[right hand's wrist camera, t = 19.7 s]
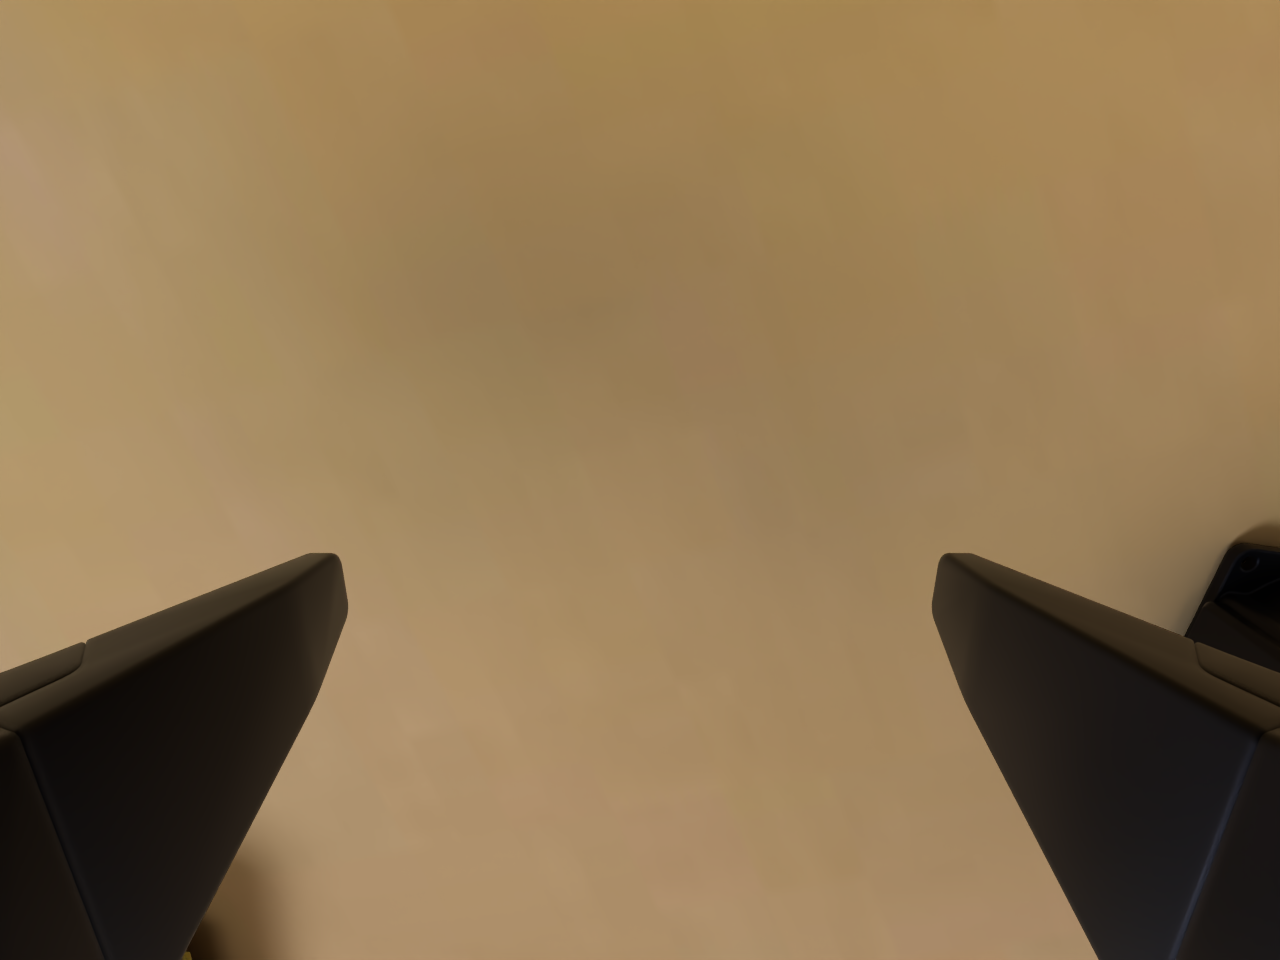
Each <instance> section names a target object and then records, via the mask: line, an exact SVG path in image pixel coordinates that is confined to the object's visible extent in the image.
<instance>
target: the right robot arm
mask: <svg viewBox="0 0 1280 960" xmlns="http://www.w3.org/2000/svg"><path fill="white" fill-rule="evenodd" d="M1247 557H1248V559H1247V560H1246V561H1245V562H1244V563H1242V561H1243V560H1244V559H1245V558H1247ZM347 613H348V599H347V593H346V587H345V581H344V575H343V569H342V564H341V561H340V559H339V557H338V556H337V555H336V554H333V553H309V554H306V555H303V556H301V557H298V558H295V559H293V560H290V561H288V562H285V563H283V564H280V565H278V566H275V567H272V568H270V569H267V570H265V571H262V572H260V573H257V574H255V575H252V576H249V577H247V578H244V579H242V580H239V581H237V582H234V583H232V584H229V585H226V586H224V587H221V588H219V589H216V590H214V591H211V592H209V593H206V594H203V595H201V596H198V597H196V598H193V599H191V600H188V601H186V602H183V603H180V604H178V605H175V606H173V607H170V608H168V609H165V610H163V611H160V612H157V613H155V614H152V615H150V616H147V617H145V618H142V619H140V620H137V621H134V622H132V623H129V624H127V625H124V626H122V627H119V628H117V629H114V630H111V631H109V632H106V633H104V634H101V635H99V636H96V637H94V638H91V639H89V640H87V642H86V644H85V643H83V642H81V643H78V644H75V645H73V646H70V647H68V648H65V649H63V650H60V651H58V652H55V653H52V654H50V655H47V656H44V657H42V658H39V659H36V660H34V661H31V662H29V663H26V664H23V665H21V666H18V667H15V668H13V669H10V670H7V671H5V672H2V673H0V960H181V959H182V957H183V955H184V953H185V951H186V950H187V948H188V946H189V944H190V942H191V940H192V938H193V936H194V934H195V932H196V930H197V928H198V926H199V924H200V923H201V921H202V919H203V917H204V915H205V913H206V911H207V909H208V907H209V905H210V903H211V901H212V899H213V897H214V896H215V894H216V892H217V890H218V888H219V886H220V884H221V882H222V880H223V878H224V876H225V874H226V872H227V870H228V869H229V867H230V865H231V863H232V861H233V859H234V857H235V855H236V853H237V851H238V849H239V847H240V845H241V843H242V842H243V840H244V838H245V836H246V834H247V832H248V830H249V828H250V826H251V824H252V822H253V820H254V818H255V816H256V815H257V813H258V811H259V809H260V807H261V805H262V803H263V801H264V799H265V797H266V795H267V793H268V791H269V789H270V788H271V786H272V784H273V782H274V780H275V778H276V776H277V774H278V772H279V770H280V768H281V766H282V764H283V763H284V761H285V759H286V757H287V755H288V753H289V751H290V749H291V747H292V745H293V743H294V741H295V739H296V737H297V736H298V734H299V732H300V730H301V728H302V726H303V724H304V722H305V720H306V718H307V716H308V714H309V712H310V710H311V708H312V706H313V704H314V702H315V700H316V697H317V695H318V693H319V690H320V688H321V685H322V683H323V680H324V677H325V675H326V672H327V669H328V666H329V664H330V661H331V658H332V656H333V653H334V650H335V648H336V645H337V642H338V640H339V637H340V634H341V632H342V629H343V626H344V624H345V621H346V618H347ZM932 613H933V618H934V621H935V624H936V626H937V629H938V632H939V634H940V637H941V640H942V642H943V645H944V648H945V650H946V653H947V656H948V658H949V661H950V664H951V666H952V669H953V672H954V675H955V677H956V680H957V683H958V685H959V688H960V690H961V693H962V695H963V697H964V700H965V702H966V704H967V706H968V708H969V710H970V712H971V714H972V716H973V718H974V720H975V722H976V724H977V726H978V728H979V730H980V732H981V734H982V736H983V737H984V739H985V741H986V743H987V745H988V747H989V749H990V751H991V753H992V755H993V757H994V759H995V761H996V763H997V764H998V766H999V768H1000V770H1001V772H1002V774H1003V776H1004V778H1005V780H1006V782H1007V784H1008V786H1009V788H1010V790H1011V791H1012V793H1013V795H1014V797H1015V799H1016V801H1017V803H1018V805H1019V807H1020V809H1021V811H1022V813H1023V815H1024V816H1025V818H1026V820H1027V822H1028V824H1029V826H1030V828H1031V830H1032V832H1033V834H1034V836H1035V838H1036V840H1037V842H1038V843H1039V845H1040V847H1041V849H1042V851H1043V853H1044V855H1045V857H1046V859H1047V861H1048V863H1049V865H1050V867H1051V869H1052V870H1053V872H1054V874H1055V876H1056V878H1057V880H1058V882H1059V884H1060V886H1061V888H1062V890H1063V892H1064V894H1065V896H1066V897H1067V899H1068V901H1069V903H1070V905H1071V907H1072V909H1073V911H1074V913H1075V915H1076V917H1077V919H1078V921H1079V923H1080V924H1081V926H1082V928H1083V930H1084V932H1085V934H1086V936H1087V938H1088V940H1089V942H1090V944H1091V946H1092V948H1093V950H1094V951H1095V953H1096V955H1097V957H1098V959H1099V960H1280V548H1276V547H1269V546H1262V545H1255V544H1248V543H1243V544H1238V545H1236V546H1234V547H1232V548H1231V549H1229V550H1228V552H1227V553H1226V554H1225V556H1224V558H1223V560H1222V562H1221V564H1220V566H1219V568H1218V570H1217V572H1216V574H1215V576H1214V578H1213V580H1212V582H1211V584H1210V586H1209V588H1208V590H1207V592H1206V594H1205V596H1204V598H1203V600H1202V602H1201V604H1200V606H1199V608H1198V610H1197V612H1196V614H1195V616H1194V618H1193V620H1192V622H1191V624H1190V626H1189V628H1188V630H1187V632H1186V634H1185V636H1181V635H1179V634H1176V633H1174V632H1171V631H1169V630H1166V629H1163V628H1161V627H1158V626H1156V625H1153V624H1151V623H1148V622H1146V621H1143V620H1140V619H1138V618H1135V617H1133V616H1130V615H1128V614H1125V613H1123V612H1120V611H1117V610H1115V609H1112V608H1110V607H1107V606H1105V605H1102V604H1100V603H1097V602H1094V601H1092V600H1089V599H1087V598H1084V597H1082V596H1079V595H1077V594H1074V593H1071V592H1069V591H1066V590H1064V589H1061V588H1059V587H1056V586H1054V585H1051V584H1048V583H1046V582H1043V581H1041V580H1038V579H1036V578H1033V577H1031V576H1028V575H1025V574H1023V573H1020V572H1018V571H1015V570H1013V569H1010V568H1008V567H1005V566H1002V565H1000V564H997V563H995V562H992V561H990V560H987V559H985V558H982V557H979V556H977V555H974V554H971V553H947V554H944V555H943V556H942V557H941V559H940V561H939V564H938V569H937V575H936V581H935V587H934V593H933V599H932Z"/></svg>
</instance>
